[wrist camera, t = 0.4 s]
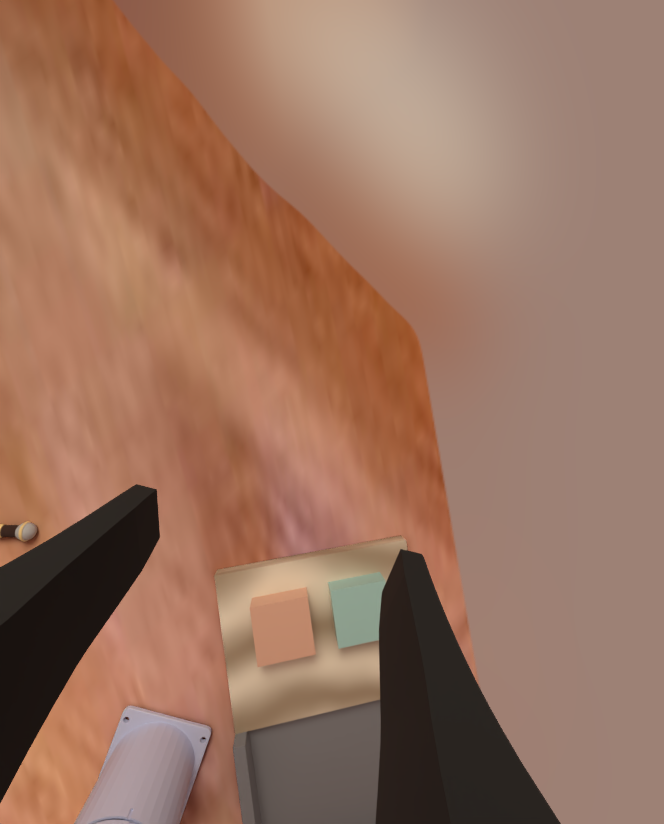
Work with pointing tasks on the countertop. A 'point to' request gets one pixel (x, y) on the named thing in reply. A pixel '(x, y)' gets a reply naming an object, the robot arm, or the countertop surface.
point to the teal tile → (356, 608)
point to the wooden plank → (331, 667)
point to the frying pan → (19, 531)
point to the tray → (311, 769)
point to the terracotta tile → (282, 627)
